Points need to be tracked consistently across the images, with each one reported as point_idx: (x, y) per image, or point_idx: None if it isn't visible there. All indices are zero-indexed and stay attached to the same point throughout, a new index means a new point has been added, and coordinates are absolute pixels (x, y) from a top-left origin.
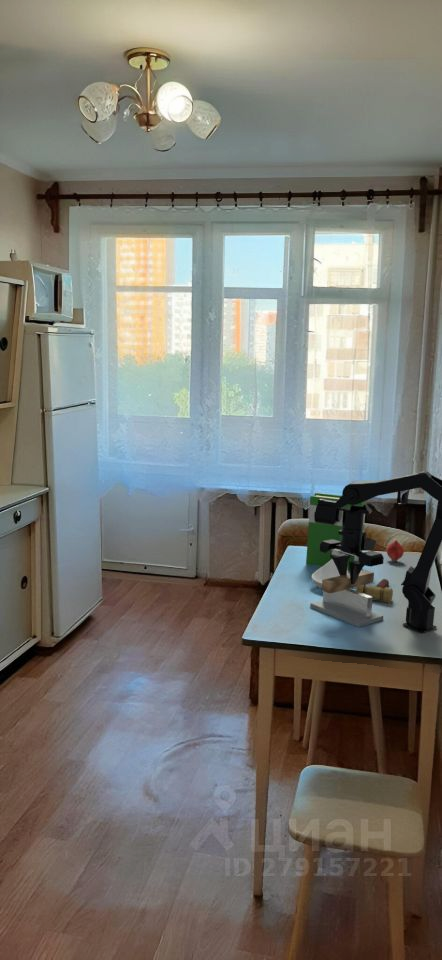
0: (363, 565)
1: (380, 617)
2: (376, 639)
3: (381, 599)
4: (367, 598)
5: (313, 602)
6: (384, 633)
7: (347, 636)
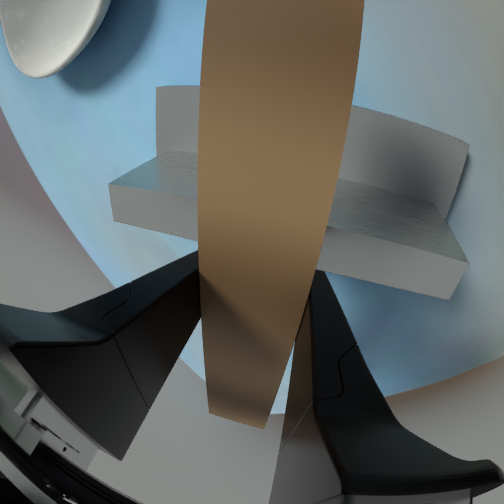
0: (398, 440)
1: (462, 164)
2: (475, 321)
3: None
4: (445, 298)
5: None
6: (493, 270)
7: (401, 349)
